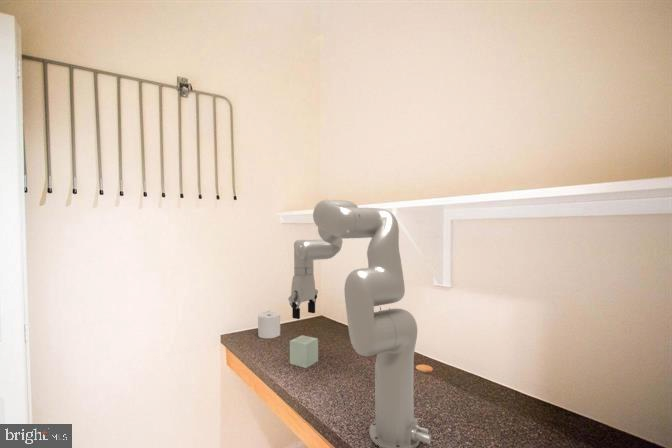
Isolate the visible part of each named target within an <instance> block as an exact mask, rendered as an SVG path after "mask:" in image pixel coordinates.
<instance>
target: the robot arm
mask: <svg viewBox="0 0 672 448" xmlns="http://www.w3.org/2000/svg"><path fill="white" fill-rule="evenodd" d="M312 218H313V219H312V220H313V223H314V224H315V226H316V227H317V233H318V236H319V237H320V239H297V240H295V241H294V243H293V266H294V267H293V272H294V273H293V276H292V280H291V289H290V293H291V294H290V296H289V297H288V301H289V305H290V307H291V309H292V311H291V312H292V315H291V316H292V319H296V320H300V319H301V308H300V306H301V304H302V303H305V302H307V312H308V313H311V314H316V303H317V298H318V293H319V290H317V289H316V283H315V276H314V270H315V269H314V261H316V260H317V261H319V260H329V259H332V258H334V257H335V256H336V255H338V254H339V252H340V251H341V250H342V245H343V239H367V238H369V239H370V238H371V239H370V242H369V244H368V246H367V250H366V256H367V264H368V267H365V268H364V267H363V268H357V269H354V270H352V271H350V273H349V274H348V275H347V277H346V279H345V283H344V289H343V290H344V301H345V303H344V304H345V310H346V317H347V319H346V320H347V328H348V335H349V340H350V343H351V346H352V348H353V349H354V351H355V353H357V354H358V355H359V356H363V357H370V356H375V355H377V356H376V359H375V365H374V396H375V397H374V405H375V406H374V408H375V409H374V411H375V414H374V416H375V417H374V418H375V420H374V421H373V422H372V423H371V424H370V426H369V430H368V431H369V432H368V433H369V438H370V440H371V441H372V443H373V442H374V443H375V445H376V446H377V445H378V446H379V447H378V446H377V447H378V448H380V447H381V448H417V447H418V446H419V444H420V443H424V444H427V445H430V444H431V443H432V442H431V441H432V435H431V434H429V431H430V430H429V428H426V427H421V426H420V425H419V424H418V418H417V417H414V414H415V413H414V411H415V410H414V405H415V403H414V397H415V396H414V395H415V394H414V369H415V368H414V362H415V361H414V359H415V358H414V357H415V350H416V343H417V338H418V325H417V321H416V319H415V316H414V315H413V314H412V313H410V311H408V310H406V309H403V308H390V309H389V308H388V309H384V310H382V309H381V310H377V311H375V307H378V306H384V305H390V304H395V303H398V302H399V301H401V300H402V299H403V298H404V296H405V287H406V286H405V280H404V279H405V278H404V273H403V266H402V265H403V264H402V258H401V254H400V244H399V243H400V242H399V241H400V240H399V239H400V235H399V234H400V228H399V223H398V220H397V217H395V215H394V214H393V212H391V211H389V210H388V209H383V208H380V207H379V208H377V207H358V205H357V204H356V203H354V202H353V201H349V200H343V199H341V200H340V199H322V200H320V201H319V202H318V203H317V204H316V205H315V207H314V209H313V213H312Z"/></svg>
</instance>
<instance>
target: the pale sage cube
mask: <svg viewBox="0 0 672 448" xmlns="http://www.w3.org/2000/svg"><path fill="white" fill-rule="evenodd" d="M317 362H319V338H318V337H312V336H307V335H304V334H302V335H300V336H297V337H296V338H293V339H291V340H289V365H293V366H297V367H300V368H304V369H307V368H309V367H310V366H312V365H314V364H316V363H317Z"/></svg>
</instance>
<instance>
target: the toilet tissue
mask: <svg viewBox="0 0 672 448" xmlns="http://www.w3.org/2000/svg"><path fill="white" fill-rule="evenodd" d="M257 336H258V338H260V339H274V338H277V337H280V336H281V313H280V312H277V311H271V310H267V311H264V312H261V313H259V314H258V316H257Z"/></svg>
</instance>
